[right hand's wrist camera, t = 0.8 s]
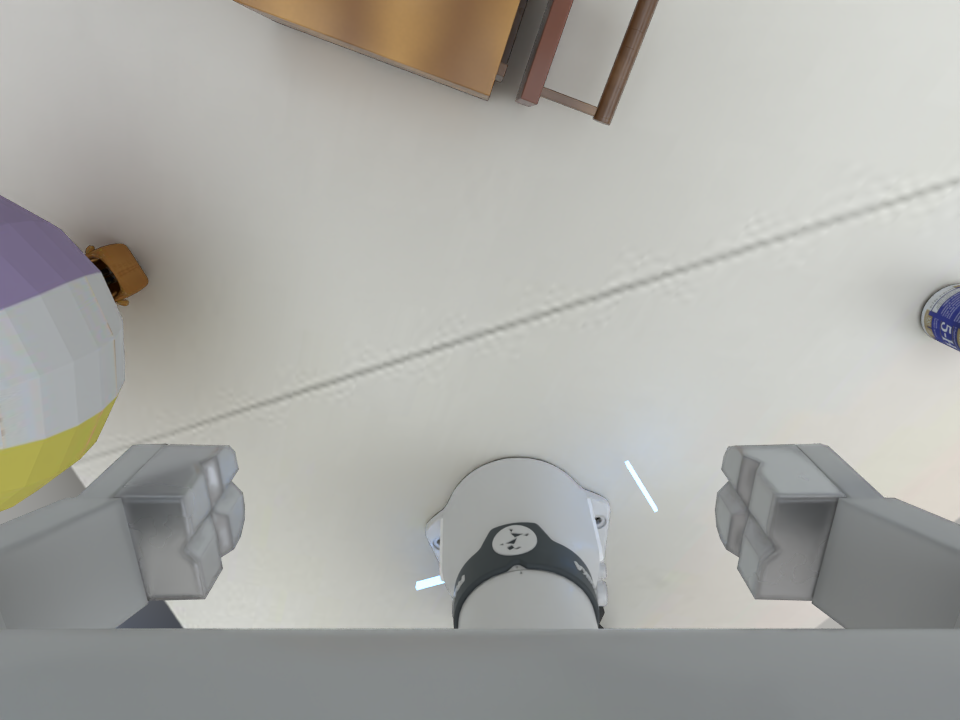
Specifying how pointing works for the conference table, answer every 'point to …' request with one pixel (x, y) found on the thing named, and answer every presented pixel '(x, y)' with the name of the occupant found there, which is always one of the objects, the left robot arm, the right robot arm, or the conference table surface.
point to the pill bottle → (943, 316)
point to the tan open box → (410, 33)
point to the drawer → (547, 47)
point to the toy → (56, 347)
